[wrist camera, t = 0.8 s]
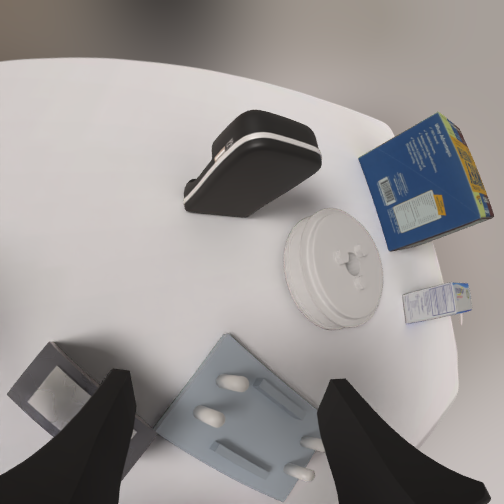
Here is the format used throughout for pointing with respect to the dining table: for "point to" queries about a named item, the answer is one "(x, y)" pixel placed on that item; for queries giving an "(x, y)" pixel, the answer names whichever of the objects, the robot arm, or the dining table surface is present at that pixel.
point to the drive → (66, 398)
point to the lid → (333, 270)
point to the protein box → (425, 184)
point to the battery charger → (253, 165)
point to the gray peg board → (244, 422)
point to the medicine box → (437, 302)
